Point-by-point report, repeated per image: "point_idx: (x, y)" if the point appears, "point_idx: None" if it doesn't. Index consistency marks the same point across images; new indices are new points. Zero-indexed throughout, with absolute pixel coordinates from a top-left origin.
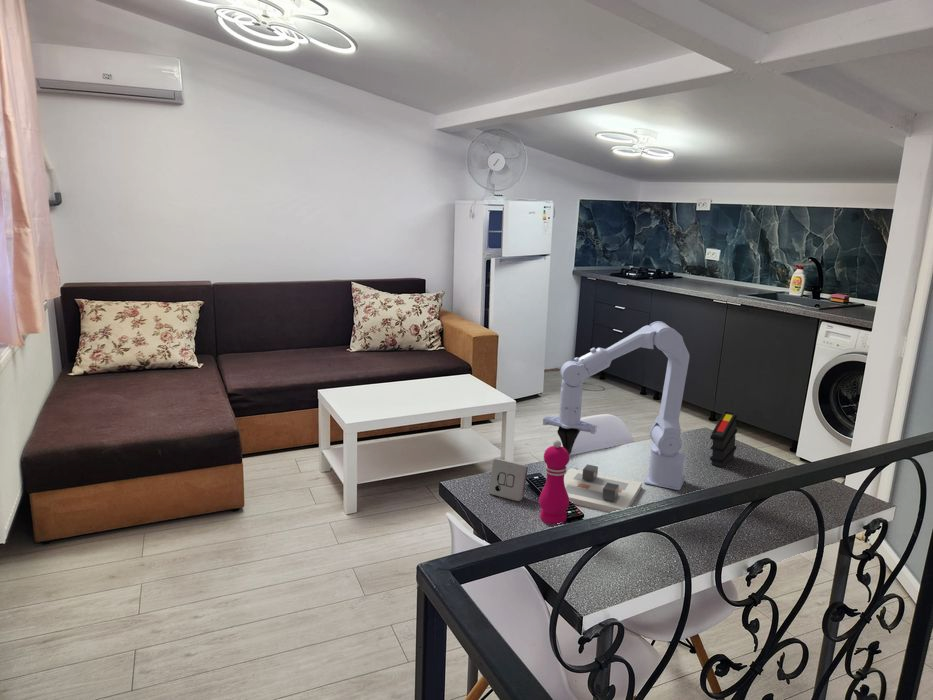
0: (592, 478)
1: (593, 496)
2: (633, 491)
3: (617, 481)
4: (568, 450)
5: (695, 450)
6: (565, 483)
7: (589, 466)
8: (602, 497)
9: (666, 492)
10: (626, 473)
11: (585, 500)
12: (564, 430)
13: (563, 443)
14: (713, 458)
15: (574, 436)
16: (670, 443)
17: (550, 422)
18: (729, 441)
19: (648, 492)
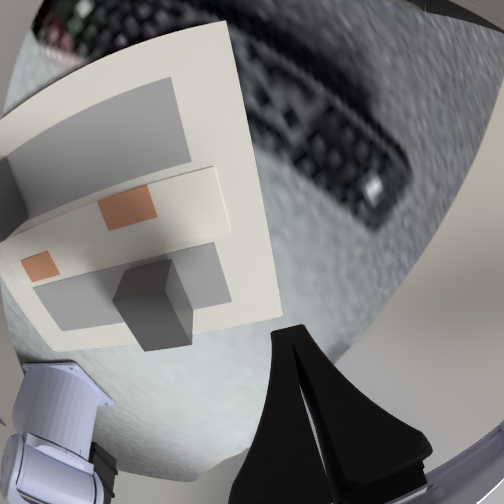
0: (125, 277)
1: (42, 152)
2: (16, 293)
3: (87, 325)
4: (278, 353)
5: (149, 461)
6: (210, 169)
7: (168, 334)
8: (4, 159)
9: (24, 346)
10: (146, 384)
11: (44, 93)
12: (367, 484)
13: (333, 381)
14: (91, 452)
15: (232, 486)
16: (6, 461)
17: (501, 459)
18: None
19: (34, 327)
